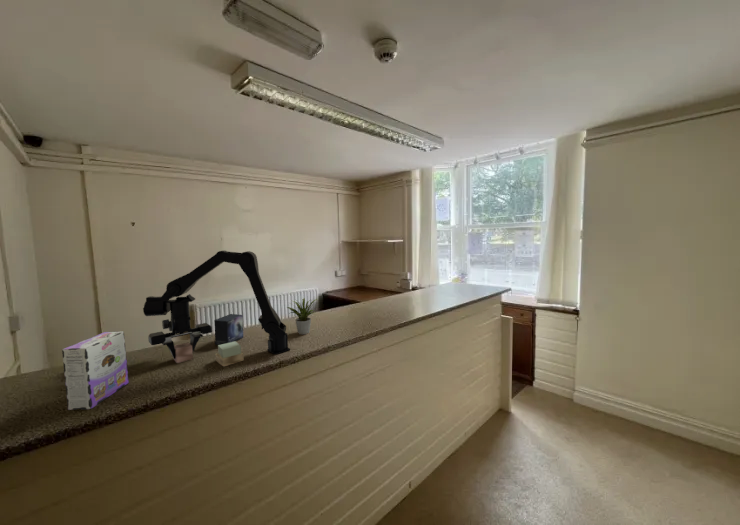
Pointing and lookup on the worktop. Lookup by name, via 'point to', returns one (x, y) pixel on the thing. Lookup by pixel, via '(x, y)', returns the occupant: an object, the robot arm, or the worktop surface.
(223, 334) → the small box
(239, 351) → the sage top block
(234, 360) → the beech base block
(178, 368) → the worktop surface
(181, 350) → the rose cube
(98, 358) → the candy box
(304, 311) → the house plant
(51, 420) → the worktop surface
